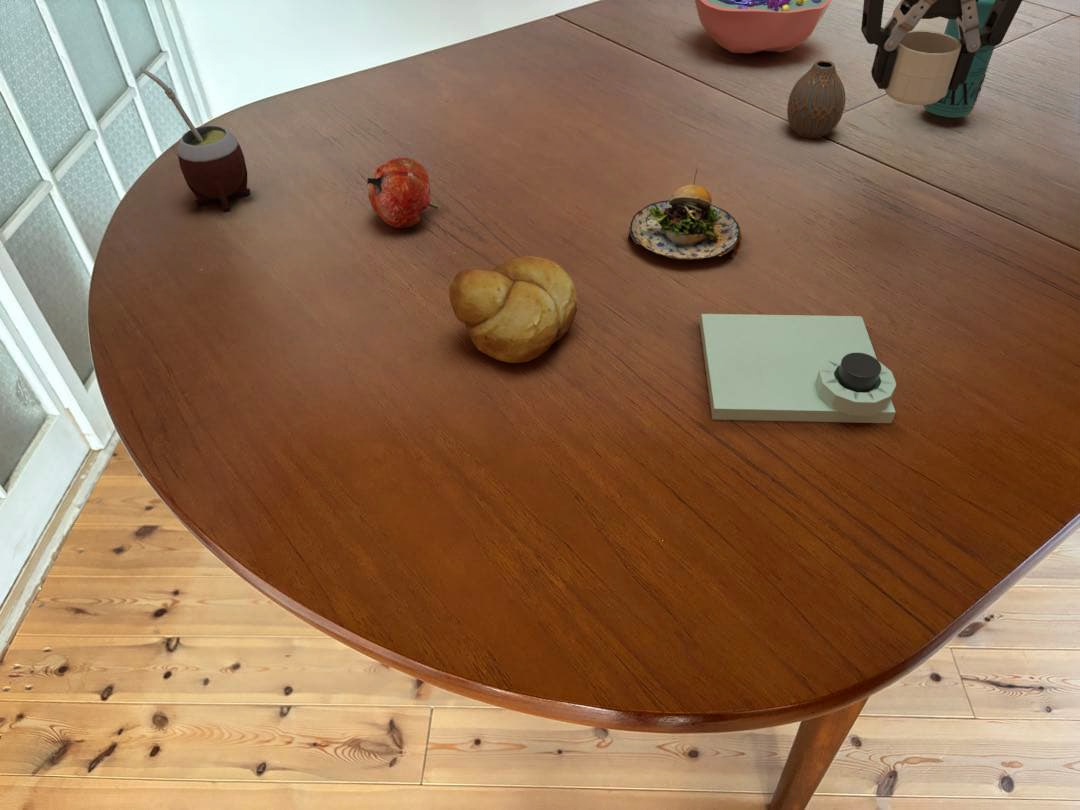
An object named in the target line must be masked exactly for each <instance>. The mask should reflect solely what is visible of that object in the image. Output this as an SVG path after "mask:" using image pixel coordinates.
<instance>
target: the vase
mask: <svg viewBox="0 0 1080 810" xmlns="http://www.w3.org/2000/svg"><path fill="white" fill-rule="evenodd" d="M845 107H846V90H845V86H844V84H843V81H842V80H841V78H840V76H839V75H838V72H837V70H836V64H835V63H834V62H833V61H831V60H828V59H827V60H826V59H820V60H816V61H815V62H814V63H813V65H812V66H811V68H810V69H809V70H808V71H807V72H805V73H804V74H803V75H802V76H801V77H800V78H799V79H798V80H797V81H796V82H795V84H794V86H793V87H792V89H791V92H790V94H789V97H788V101H787V107H786V115H787V120H788V123H789V126H790V127H791V129H792V130H793V132H794V133H796V134H797V135H799V136H801V137H803V138H807V139H819V138H823V137H825V136H827V135H828V134H830V133H831V132H832V131H833V130H835V129H836V128H837V126H838V124H839V123H840V121H841V119H842V117H843V114H844V111H845Z"/></svg>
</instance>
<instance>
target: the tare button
mask: <svg viewBox="0 0 1080 810" xmlns="http://www.w3.org/2000/svg"><path fill="white" fill-rule="evenodd" d="M879 362H880V361H879V360H878V358H877V359H875V358H874V357H872V356H870V355H868V354H864V353H850V354H847V355H846V356H844V357H843V359H842V361H841V364H840V368H839V371H838V374H837V379H838V382H839V383H840V385H841V386H843V387H844V388H846V389H848V390H851V391H854V392H864V393H865V392H869V391H871V390H873V389H874V388H875V386H876V384H877V381H878V378H879V375H880V372H881V365H880V363H881V362H880V363H879Z"/></svg>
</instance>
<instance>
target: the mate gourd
mask: <svg viewBox="0 0 1080 810" xmlns="http://www.w3.org/2000/svg"><path fill="white" fill-rule="evenodd" d="M139 71H140V72H141V73H143V74H144V75H145V76H147V77H148V78H149V79H150V80H152V81H153V82H155V83H156V84H157V85H158V86H159V87H161V88H162V90H164V91H163V92H164V94H165V95H166V97H167V98H168V99H169V100H171V102H172V103H173V105H174V107H175V108H176V110H177V111H178V113H179V114H180V116H181V117H182V119H183V120H184V122H185V124H186V126H187V127H188V129H189V130H187V131H186V132H184V133H183V134H182V136H181V137H180V138H179V141H178V143H177V147H176V152H177V159H178V164H179V168H180V170H181V173H182V175H183V178H184V181H185V182H186V185H187V186H188V188H189V189H190V191H191V193H192V194H193V195H194V197H195V198H196V199H195V200H194V202H195V204H196V206H197V207H200V206H205V205H211V204H215V203H220V204H221V207H222V211H223V212H224V213H229V212H231V211H232V209H231V205H230V201H231V200H234V199H239V198H243V197H249V196H251V189H250V188H248V169H247V164H246V159H245V155H244V152H243V149H242V147H241V145H240V143H239V141H238V140H237V139H238V138H237V137H236V136H235V135H234V133H232V132H231V131H229V130H228V129H226V128H225V127H223V126H219V125H216V124H215V125H202V126H196V127H195V126H194V124H193V122H192V120H191V119H190V118H189V116H188V114H187V112H186V111H185V109H184V108H183V105H181V103H180V102H179V100H178V98H177V97H176V93H175V92H174V90H173V89H172V88H171V87H169V86H168V84H166V83H165V82H164V81H163V80H162V79H161V78H159V77H158V76H156V75H155V74H153V73H152V72H151V71H149V70H147V69H146V68H144V67H142V66H141V67H140V68H139Z"/></svg>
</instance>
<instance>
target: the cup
mask: <svg viewBox="0 0 1080 810" xmlns="http://www.w3.org/2000/svg"><path fill="white" fill-rule="evenodd" d="M961 47H962V44H961V43H960V42H959V40H957V39H955V38H954V37H952V36H950V35H946V34H944V33H943V32H940V31H934V30H925V29H923V30H922V29H921V30H919V29H918V30H917V29H913V30H912V31H909V32H908V33H907V34H906V36H905V37H904V38H903V40H902V41H901V42H900V43H899V45H898V46H897V47H896V51H897V55H896V59H895V62H894V66H893V70H892V73H891V77H890V81H889V84H888V87H887V89H883V90H884V91H885V93H886V95H887V96H888V97H889V98H890V99H892V100H894V101H896V102H899V103H903V104H905V105H906V104H907V105H913V106H923V105H928V104H933V103H936V102H937V101H939V100H940V99H941V98H943V97H945V96H946V93H947V90H948V87H949V84H950V81H951V78H952V75H953V72H954V69H955V66H956V63H957V60H958V56H959V53H960V50H961Z"/></svg>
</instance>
